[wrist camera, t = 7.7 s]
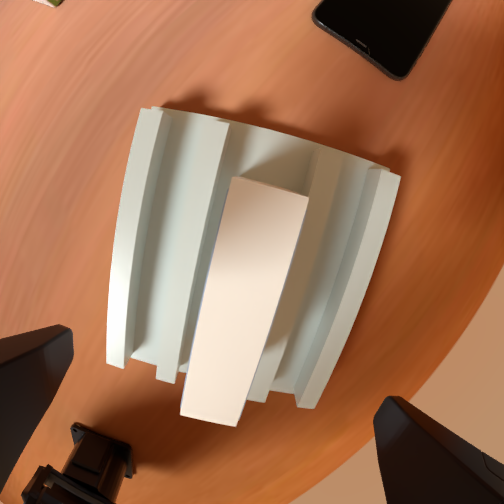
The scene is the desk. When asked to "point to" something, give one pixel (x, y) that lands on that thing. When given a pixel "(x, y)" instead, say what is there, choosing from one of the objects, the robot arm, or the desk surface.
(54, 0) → the ink box
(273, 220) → the white rectangular block
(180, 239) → the rack
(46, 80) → the desk surface
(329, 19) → the smartphone
